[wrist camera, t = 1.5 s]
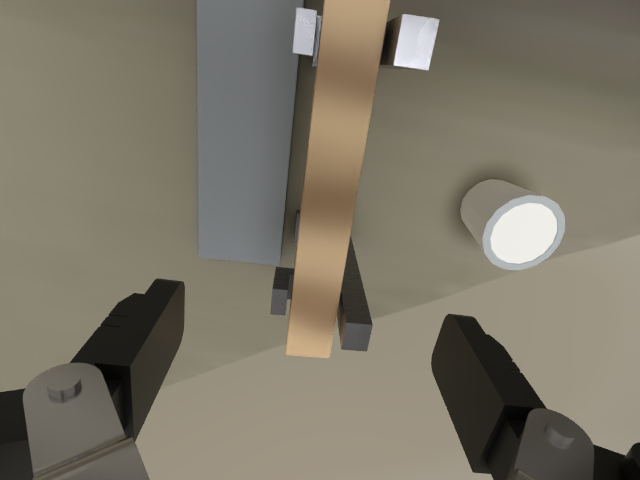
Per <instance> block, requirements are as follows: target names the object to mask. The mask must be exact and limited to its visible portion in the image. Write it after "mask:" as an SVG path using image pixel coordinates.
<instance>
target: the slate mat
mask: <svg viewBox="0 0 640 480" xmlns="http://www.w3.org/2000/svg"><path fill="white" fill-rule="evenodd" d="M303 7H304V0H197V132H198V258H207V259H217V260H228V261H238V262H249V263H259V264H270V265H280V258H281V247H282V236H283V225H284V214H285V203H286V192H287V181H288V170H289V160H290V149H291V138H292V127H293V116H294V105H295V94H296V83H297V72H298V61H299V55H296V54H293V44H294V32H295V20H296V9H297V8H303Z"/></svg>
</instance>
